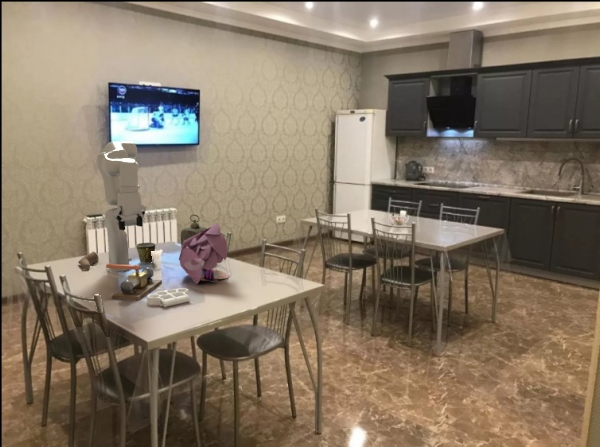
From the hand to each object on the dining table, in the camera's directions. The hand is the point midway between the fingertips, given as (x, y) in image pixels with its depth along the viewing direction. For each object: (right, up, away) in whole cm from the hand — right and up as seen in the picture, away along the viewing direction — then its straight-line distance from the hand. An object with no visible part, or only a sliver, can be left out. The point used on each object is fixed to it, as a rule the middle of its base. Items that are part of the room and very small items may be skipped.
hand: (131, 228), depth 216 cm
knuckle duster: (+19, -31, -8) cm, 38 cm away
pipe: (-36, -21, +43) cm, 60 cm away
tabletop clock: (+16, -18, +60) cm, 64 cm away
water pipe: (+2, -27, +4) cm, 27 cm away
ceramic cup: (-8, -20, +49) cm, 53 cm away
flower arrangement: (+29, -25, +26) cm, 46 cm away
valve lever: (-4, -18, +3) cm, 19 cm away
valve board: (+2, -28, +4) cm, 28 cm away
